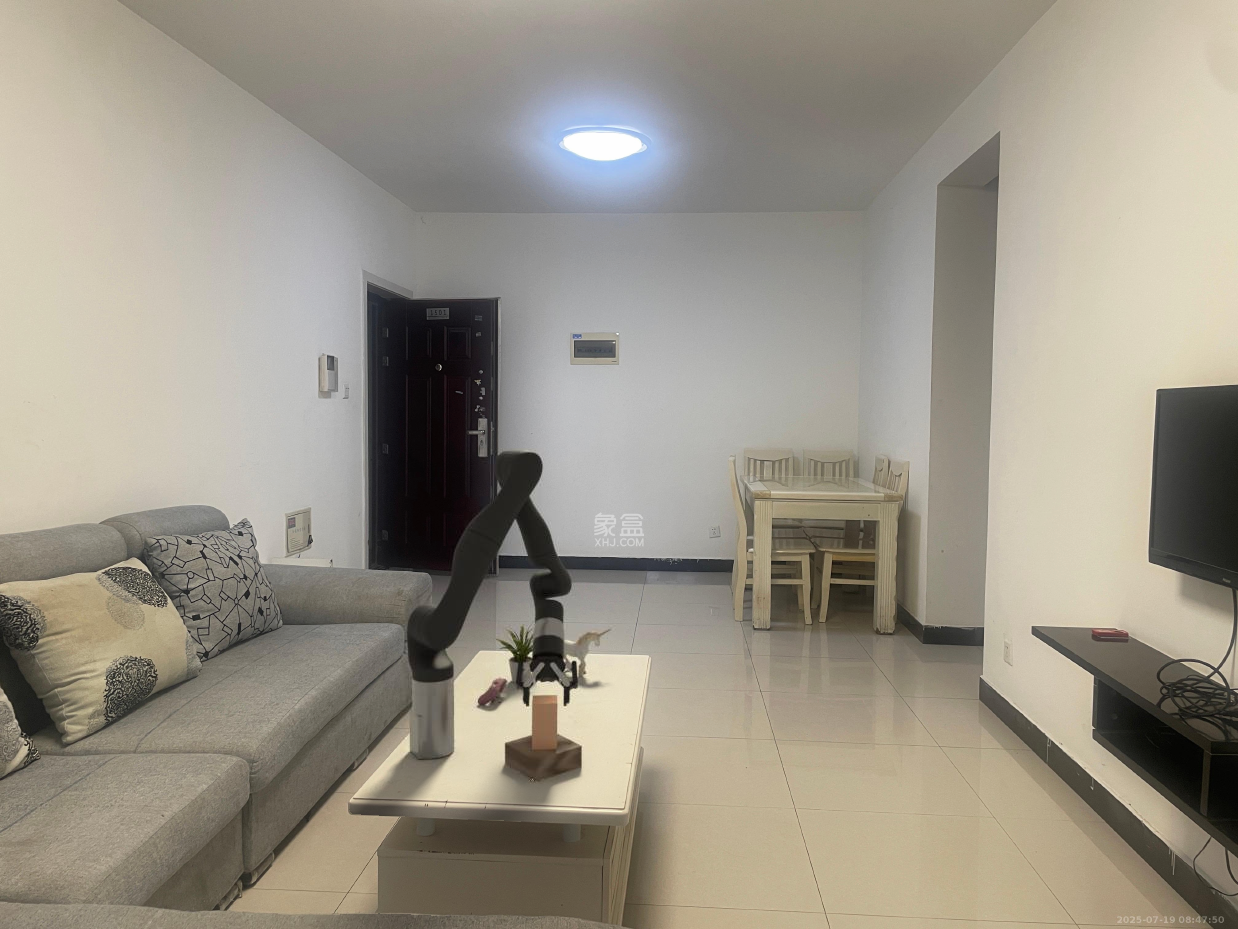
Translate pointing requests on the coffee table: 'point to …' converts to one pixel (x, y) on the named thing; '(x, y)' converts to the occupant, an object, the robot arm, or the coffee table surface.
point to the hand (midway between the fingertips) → (546, 705)
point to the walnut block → (543, 757)
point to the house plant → (522, 651)
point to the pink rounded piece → (493, 691)
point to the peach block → (544, 722)
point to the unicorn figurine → (581, 648)
